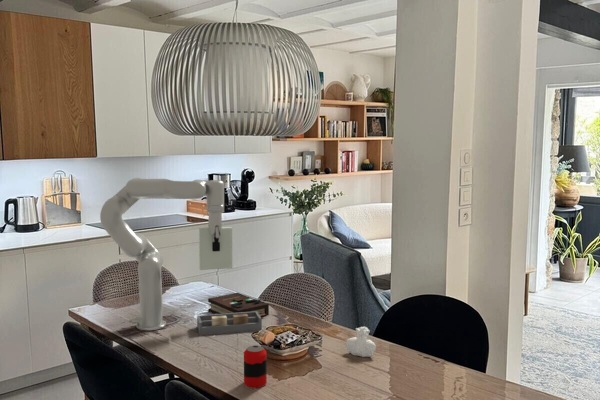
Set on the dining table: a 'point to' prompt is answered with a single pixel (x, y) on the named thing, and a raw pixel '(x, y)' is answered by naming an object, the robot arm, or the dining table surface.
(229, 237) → the sage board
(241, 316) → the tan wooden block
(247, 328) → the rack
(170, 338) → the dining table surface
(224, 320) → the birch offcut
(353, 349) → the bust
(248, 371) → the soda can
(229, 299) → the decorative book
